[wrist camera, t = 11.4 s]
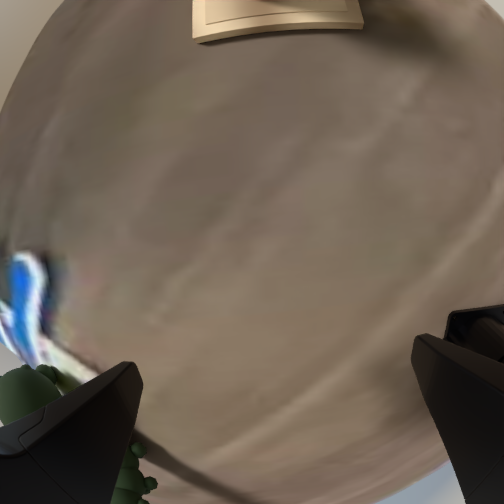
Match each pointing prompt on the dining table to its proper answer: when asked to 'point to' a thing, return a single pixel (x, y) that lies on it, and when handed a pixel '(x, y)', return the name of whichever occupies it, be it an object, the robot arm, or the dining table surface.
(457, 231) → the dining table surface
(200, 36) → the coaster
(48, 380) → the toy figurine
